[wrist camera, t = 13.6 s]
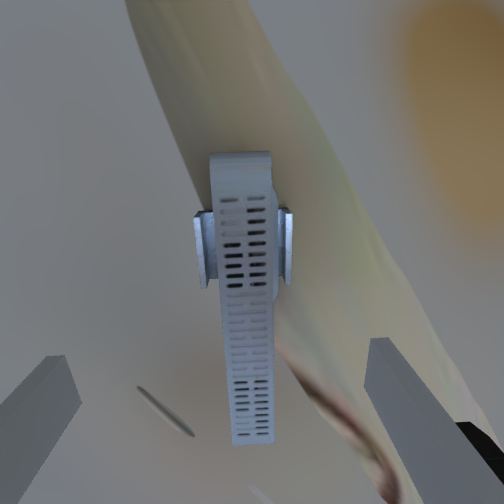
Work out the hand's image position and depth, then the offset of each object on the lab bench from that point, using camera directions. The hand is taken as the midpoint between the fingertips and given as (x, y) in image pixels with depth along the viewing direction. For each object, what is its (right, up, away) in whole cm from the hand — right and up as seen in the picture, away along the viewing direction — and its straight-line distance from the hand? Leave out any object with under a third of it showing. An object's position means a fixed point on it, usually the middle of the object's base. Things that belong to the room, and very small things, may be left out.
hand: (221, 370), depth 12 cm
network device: (+1, +6, +27) cm, 28 cm away
